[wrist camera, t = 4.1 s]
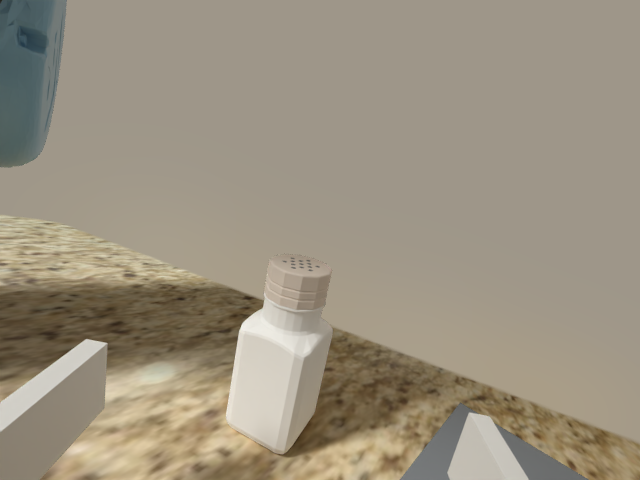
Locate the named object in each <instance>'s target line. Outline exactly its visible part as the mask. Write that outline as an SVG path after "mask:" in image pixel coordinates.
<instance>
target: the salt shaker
mask: <svg viewBox="0 0 640 480" xmlns="http://www.w3.org/2000/svg"><path fill="white" fill-rule="evenodd" d="M331 273H332V269H331V268H330V267H329V266H328V265H327V264H325V263H323V262H321V261H319V260H316V259H314V258H310V257H306V256H302V255H293V254H282V255H276V256H273V258H271V259H270V260H269V264H268V270H267V274H268V275H267V276H266V283H265V288H264V297H265V299H264V305H263V308H262V309H260V310H258V311H257V312H255V313H254V314H252V315H251V316H250V317H249V318H248V319H246V320H245V321H244V322H243V323H242V326H241V328H240V331H239V335H238V342H237V348H236V355H235V361H234V368H233V374H232V381H231V387H230V393H229V400H228V406H227V413H226V420H227V423H228V424H229V425H230V427H231V428H233V429H235V430H236V431H238V432H240V433H241V434H243V435H245V436H247V437H248V438H250V439H252V440H253V441H255V442H257V443H259V444H260V445H262V446H264V447H266V448H267V449H269V450H271V451H272V452H274V453H276V454H284V453H286V452H287V451H288V450H289V449H290V448H291V447H292V445H293V444H294V442H295V441H296V439H297V438H298V436H299V435H300V433H301V432H302V431H303V429H304V428H305V426H306V425H307V423H308V422H309V420H310V419H311V417H312V416H313V414H314V413H315V409H316V404H317V400H318V395H319V391H320V387H321V382H322V378H323V374H324V369H325V365H326V360H327V356H328V352H329V347H330V343H331V339H332V334H333V329H332V327H331V326H330V325H329V324H328V322H327V321H325V320H324V319H322V318H321V313H322V309H323V308H324V306H325V301H326V296H327V291H328V286H329V282H330V277H331Z"/></svg>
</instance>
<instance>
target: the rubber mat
mask: <svg viewBox="0 0 640 480" xmlns="http://www.w3.org/2000/svg"><path fill="white" fill-rule="evenodd" d="M469 412H470V413H475V414H478V413H477V412H475V411H473V410H472V409H470V408H468V407H467V406H465V405H463V404H462V403H460V404H459V405H458V406H457V407H456V409H455V410H454V411H453V413H452V414H451V415H450V416H449V418H448V419H447V420H446V422H445V423H444V424H443V425H442V427H441V428H440V429H439V430H438V432H437V433H436V434H435V436H434V437H433V438H432V439H431V441H430V442H429V443H428V445H427V446H426V447H425V448H424V450H423V451H422V452H421V453H420V455H419V456H418V457H417V459H416V460H415V461H414V462H413V464H412V465H411V466H410V468H409V469H408V470H407V471H406V473H405V474H404V475H403V476H402V478H401V479H400V480H450V479H449V476H448V473H447V472H448V469H449V467H450V464H451V461H452V458H453V455H454V453H455V450H456V447H457V444H458V442H459V439H460V436H461V433H462V430H463V428H464V425H465V422H466V419H467V416H468V414H469ZM494 424H495V423H494ZM495 426H496V427H497V429H498V431H499V432H500V434H501V435H502V437H503V439H504V440H505V442H506V444H507V445H508V447H509V448H510V450H511V452H512V453H513V455H514V456H515V458H516V460H517V461H518V463H519V464H520V466H521V468H522V469H523V471H524V473H525V474H526V476H527V477H528V479H529V480H588V479H587V478H585V477H583V476H582V475H580V474H578V473H577V472H575V471H573V470H572V469H570V468H568V467H567V466H565V465H563V464H562V463H560V462H558V461H557V460H555V459H553V458H552V457H550V456H548V455H547V454H545V453H543V452H542V451H540V450H538V449H537V448H535V447H533V446H532V445H530V444H528V443H527V442H525V441H523V440H522V439H520V438H518V437H517V436H515V435H513V434H512V433H510V432H508V431H507V430H505V429H503V428H502V427H500V426H498V425H497V424H495Z"/></svg>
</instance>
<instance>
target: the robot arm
mask: <svg viewBox="0 0 640 480" xmlns="http://www.w3.org/2000/svg"><path fill="white" fill-rule="evenodd" d="M66 1H67V0H0V167H13V166H20V165H24V164H26V163H28V162H30V161H32V160H34V159H35V158H37V156H38V155H39V154H40V153H41V152H42V150H43V148H44V145H45V142H46V139H47V135H48V132H49V127H50V123H51V117H52V113H53V107H54V101H55V96H56V90H57V83H58V76H59V68H60V62H61V54H62V46H63V37H64V27H65V16H66ZM107 346H108V343H104V342H99V341H94V340H89V339H85V340H84V341H83V342H81V343H80V344H79V345H77V346H76V347H75V348H73V349H72V350H71V351H69V352H68V353H67V354H65V355H64V356H62V357H61V358H60V359H58V360H57V361H56V362H54V363H53V364H52V365H50V366H49V367H48V368H46V369H45V370H43V371H42V372H41V373H39V374H38V375H37V376H35V377H34V378H33V379H31V380H30V381H29V382H27V383H26V384H25V385H23V386H22V387H20V388H19V389H18V390H16V391H15V392H14V393H12V394H11V395H10V396H8V397H7V398H6V399H4V400H3V401H1V402H0V480H40V479H41V478H42V476H43V475H44V474H45V473H46V472H47V471H48V470H49V469H50V468H51V467H52V465H53V464H54V463H55V462H56V461H57V460H58V459H59V458H60V457H61V456H62V454H63V453H64V452H65V451H66V450H67V449H68V448H69V447H70V446H71V444H72V443H73V442H74V441H75V440H76V439H77V438H78V437H79V436H80V435H81V433H82V432H83V431H84V430H85V429H86V428H87V427H88V426H89V425H90V423H91V422H92V421H93V420H94V419H95V418H96V417H97V416H98V415H99V414H100V412H101V411H102V410H103V409H104V404H105V385H106V366H107ZM447 473H448V476H449V479H450V480H529V479H528V477H527V476H526V474H525V473H524V471H523V469H522V468H521V466H520V464H519V463H518V461H517V460H516V458H515V456H514V455H513V453H512V452H511V450H510V448H509V447H508V445H507V444H506V442H505V440H504V439H503V437H502V435H501V434H500V432H499V431H498V429H497V427H496V426H495V424H494V423H493V421H492V419H491V418H490V416H485V415H480V414H475V413H470V412H469V414H468V416H467V419H466V422H465V425H464V428H463V430H462V433H461V436H460V439H459V442H458V444H457V447H456V450H455V453H454V455H453V458H452V461H451V464H450V467H449V469H448V472H447Z"/></svg>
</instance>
